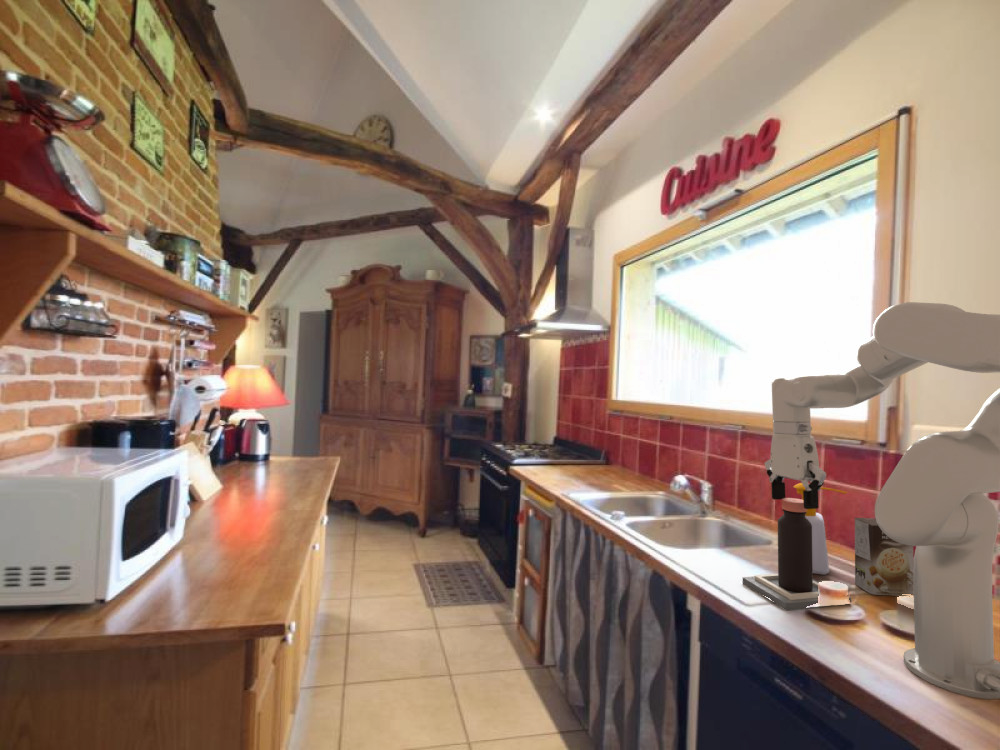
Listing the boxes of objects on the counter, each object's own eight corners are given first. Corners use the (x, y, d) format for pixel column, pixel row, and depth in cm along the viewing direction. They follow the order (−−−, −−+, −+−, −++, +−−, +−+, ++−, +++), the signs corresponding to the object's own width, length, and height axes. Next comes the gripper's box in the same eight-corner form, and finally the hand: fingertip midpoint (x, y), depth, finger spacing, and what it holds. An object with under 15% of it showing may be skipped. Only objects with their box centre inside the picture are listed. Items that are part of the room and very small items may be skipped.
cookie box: (872, 595, 109) (870, 525, 109) (854, 584, 115) (852, 517, 116) (915, 597, 108) (913, 526, 109) (895, 585, 115) (893, 518, 115)
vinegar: (808, 583, 112) (807, 498, 112) (816, 595, 106) (815, 505, 106) (775, 579, 114) (774, 495, 115) (781, 591, 108) (780, 502, 108)
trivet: (850, 604, 105) (850, 593, 105) (786, 610, 102) (785, 599, 102) (800, 579, 118) (800, 569, 118) (742, 583, 116) (742, 573, 116)
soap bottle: (851, 581, 117) (849, 490, 118) (785, 569, 124) (783, 484, 125) (847, 568, 125) (845, 483, 126) (785, 558, 132) (784, 478, 133)
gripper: (837, 431, 103) (840, 511, 102) (778, 426, 120) (780, 495, 119) (807, 432, 102) (809, 513, 101) (751, 427, 119) (753, 496, 118)
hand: (794, 503), depth 110 cm, fingers open, 9 cm apart
